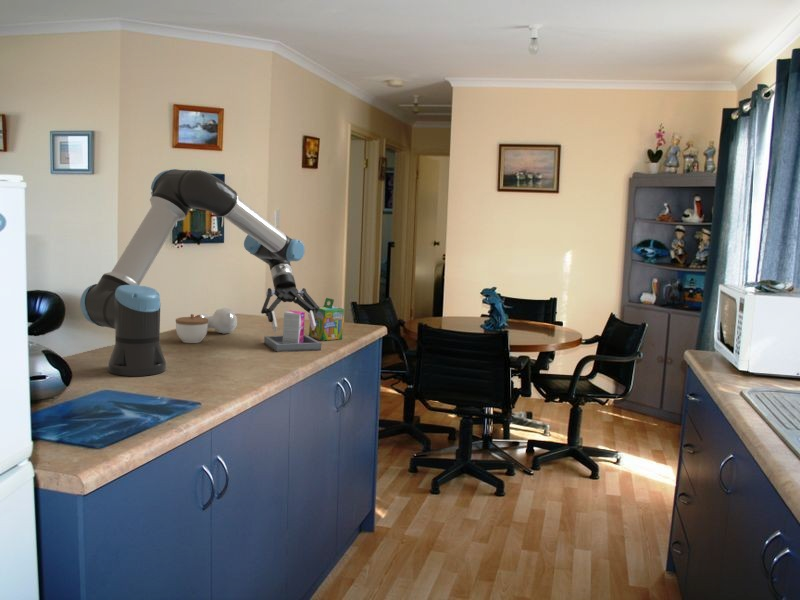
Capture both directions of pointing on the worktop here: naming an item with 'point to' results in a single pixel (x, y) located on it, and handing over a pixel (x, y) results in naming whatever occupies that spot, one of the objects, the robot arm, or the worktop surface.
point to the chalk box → (328, 322)
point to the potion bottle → (221, 320)
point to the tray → (307, 344)
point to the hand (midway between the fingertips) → (295, 328)
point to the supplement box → (293, 327)
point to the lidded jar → (191, 328)
